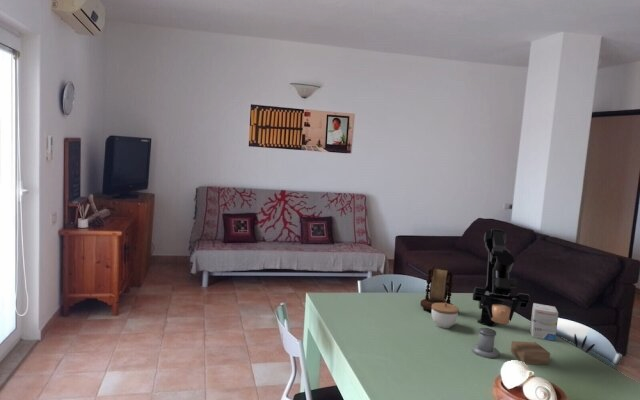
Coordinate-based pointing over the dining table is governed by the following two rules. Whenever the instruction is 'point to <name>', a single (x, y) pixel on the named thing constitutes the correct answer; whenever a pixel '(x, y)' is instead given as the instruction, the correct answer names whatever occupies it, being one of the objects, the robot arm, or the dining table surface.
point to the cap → (500, 313)
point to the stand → (530, 352)
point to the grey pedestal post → (486, 344)
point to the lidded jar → (444, 314)
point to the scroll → (437, 288)
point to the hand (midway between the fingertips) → (500, 318)
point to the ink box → (544, 322)
